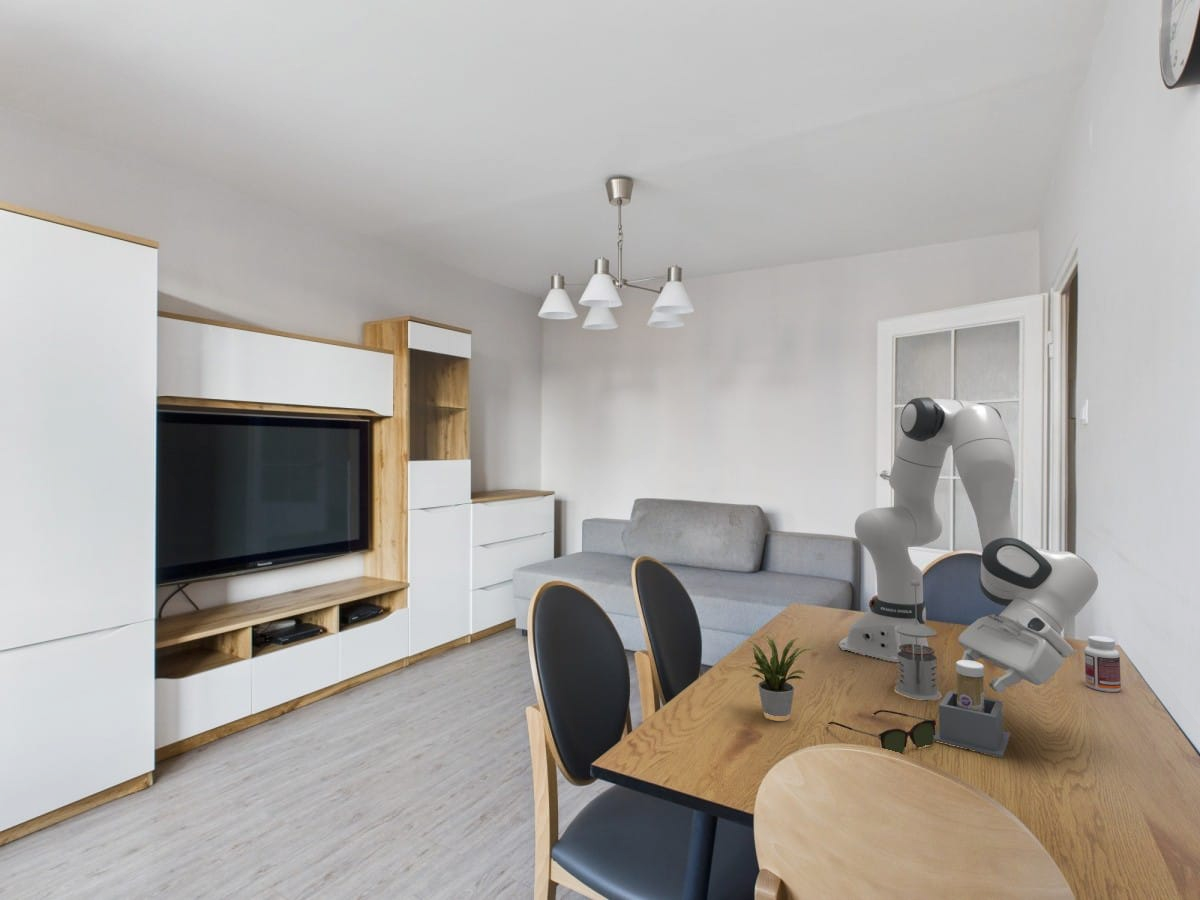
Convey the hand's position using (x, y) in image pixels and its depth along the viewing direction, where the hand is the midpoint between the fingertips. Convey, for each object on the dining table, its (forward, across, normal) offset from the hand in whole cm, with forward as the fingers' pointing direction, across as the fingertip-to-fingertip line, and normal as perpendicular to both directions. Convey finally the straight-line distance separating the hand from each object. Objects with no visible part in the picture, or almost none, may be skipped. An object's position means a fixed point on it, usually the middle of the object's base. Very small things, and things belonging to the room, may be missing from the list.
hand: (977, 680), depth 117 cm
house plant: (+31, -13, -15) cm, 37 cm away
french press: (+7, -22, +8) cm, 25 cm away
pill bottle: (-23, -21, +38) cm, 50 cm away
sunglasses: (+21, -3, -5) cm, 21 cm away
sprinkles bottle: (+8, 0, +6) cm, 10 cm away
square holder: (+9, 0, +7) cm, 11 cm away
